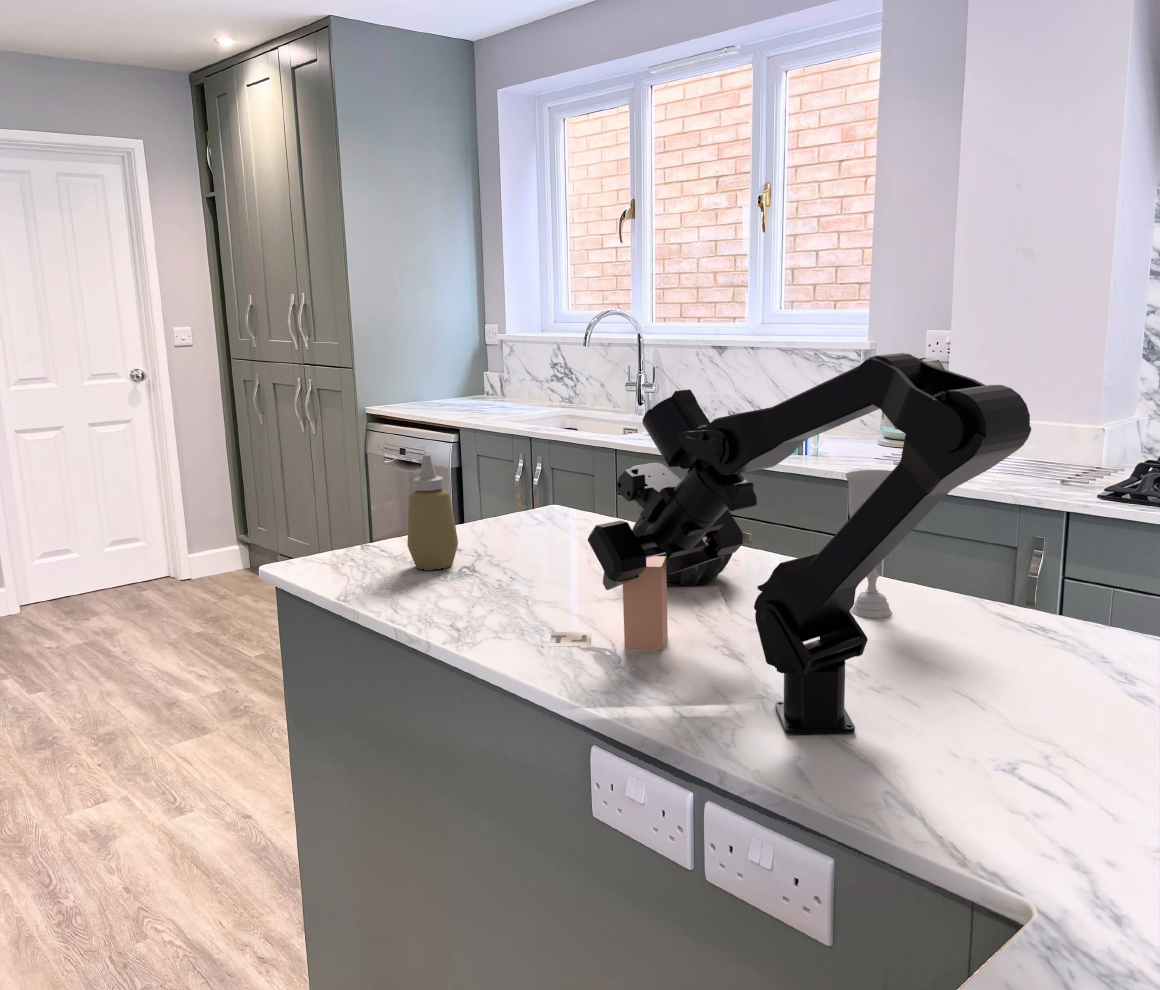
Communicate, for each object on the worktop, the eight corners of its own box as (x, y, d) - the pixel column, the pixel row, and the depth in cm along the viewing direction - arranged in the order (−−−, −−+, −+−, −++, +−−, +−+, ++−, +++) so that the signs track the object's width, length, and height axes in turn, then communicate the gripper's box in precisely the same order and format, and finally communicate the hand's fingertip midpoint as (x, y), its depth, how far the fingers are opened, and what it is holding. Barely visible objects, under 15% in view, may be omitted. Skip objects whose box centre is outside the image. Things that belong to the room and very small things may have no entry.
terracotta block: (663, 650, 111) (661, 566, 109) (624, 648, 111) (622, 566, 110) (667, 636, 115) (665, 556, 113) (630, 635, 116) (628, 555, 114)
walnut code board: (669, 659, 110) (668, 652, 110) (547, 662, 110) (547, 655, 110) (665, 635, 118) (665, 629, 118) (551, 638, 118) (551, 631, 118)
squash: (646, 526, 151) (633, 467, 140) (741, 532, 147) (736, 473, 136) (630, 604, 143) (615, 548, 132) (731, 612, 139) (724, 556, 128)
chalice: (860, 623, 119) (863, 481, 116) (832, 607, 126) (834, 472, 122) (911, 616, 121) (916, 476, 118) (881, 600, 128) (884, 468, 124)
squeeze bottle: (403, 564, 155) (394, 454, 152) (451, 557, 159) (444, 449, 155) (416, 576, 148) (408, 461, 145) (466, 568, 151) (459, 456, 148)
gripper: (725, 433, 110) (665, 512, 122) (594, 452, 100) (542, 536, 111) (775, 510, 106) (708, 584, 117) (643, 539, 95) (584, 617, 106)
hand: (637, 578), depth 113 cm, fingers open, 9 cm apart
